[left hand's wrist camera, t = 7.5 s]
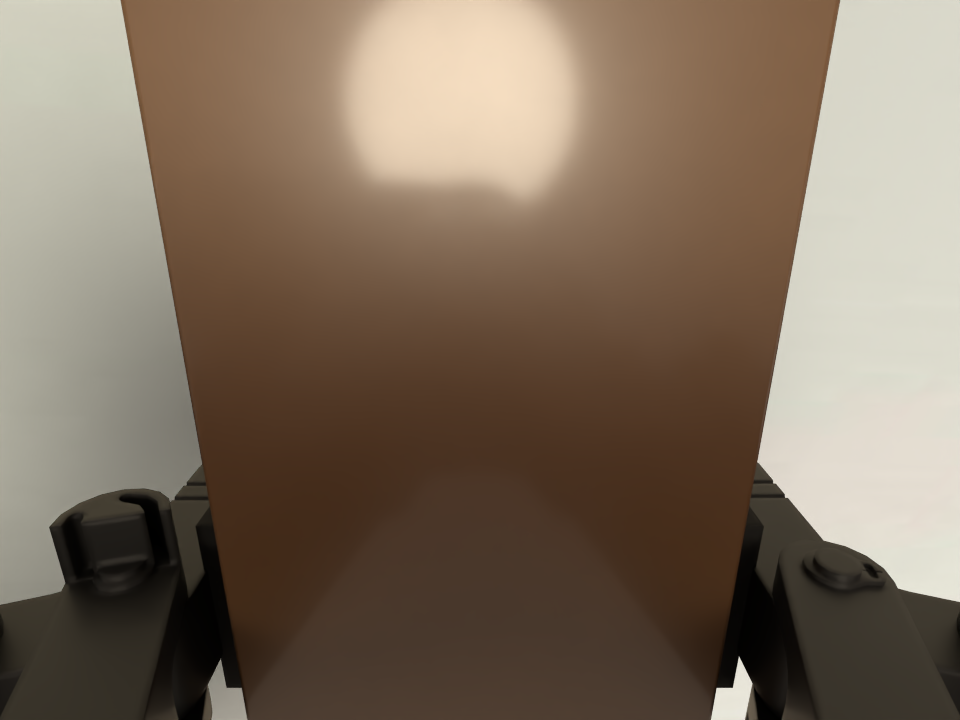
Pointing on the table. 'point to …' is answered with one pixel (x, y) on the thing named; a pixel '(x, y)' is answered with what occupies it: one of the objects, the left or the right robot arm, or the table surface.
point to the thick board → (479, 333)
